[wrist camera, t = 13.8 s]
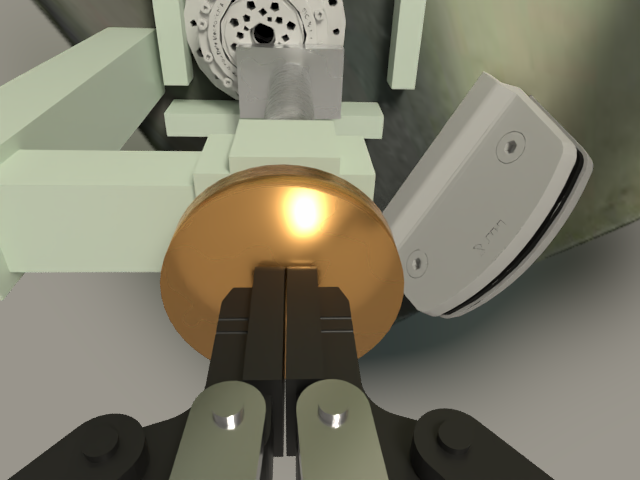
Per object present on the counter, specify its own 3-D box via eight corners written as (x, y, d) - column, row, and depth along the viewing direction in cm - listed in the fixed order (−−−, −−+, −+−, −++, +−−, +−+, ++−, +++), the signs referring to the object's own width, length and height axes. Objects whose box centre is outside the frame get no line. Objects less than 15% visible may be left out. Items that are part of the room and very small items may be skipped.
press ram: (343, 26, 28) (419, 187, 11) (338, 128, 31) (390, 377, 14) (236, 23, 28) (140, 185, 10) (242, 127, 31) (176, 380, 14)
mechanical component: (168, 61, 33) (304, 123, 35) (151, 79, 29) (304, 146, 32) (219, -102, 28) (371, -17, 31) (207, -106, 24) (381, -9, 27)
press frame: (432, -118, 28) (709, -203, 9) (403, 123, 35) (522, 343, 17) (78, -132, 27) (-411, -257, 8) (125, 119, 34) (-74, 349, 16)
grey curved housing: (486, 66, 33) (592, 139, 26) (526, 91, 36) (632, 164, 29) (357, 248, 41) (413, 342, 34) (398, 257, 44) (457, 347, 37)
